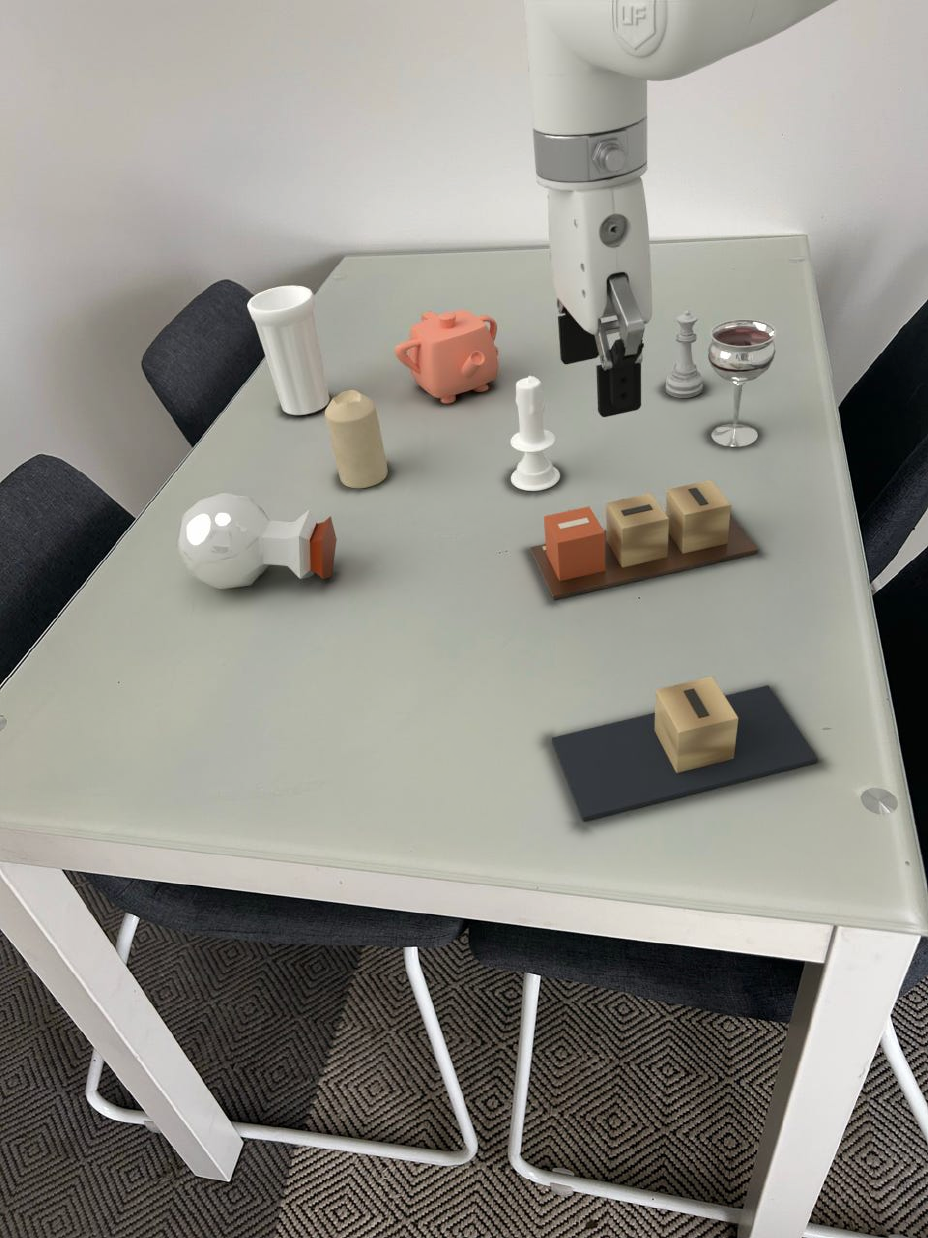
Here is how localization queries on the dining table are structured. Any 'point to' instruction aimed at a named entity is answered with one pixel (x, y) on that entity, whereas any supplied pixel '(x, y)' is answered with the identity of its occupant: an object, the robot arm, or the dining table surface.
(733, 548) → the far board
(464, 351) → the teapot
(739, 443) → the wineglass
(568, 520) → the orange striped cube
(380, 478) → the candle
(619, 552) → the far letter i
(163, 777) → the dining table surface
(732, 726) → the tan block
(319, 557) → the potion bottle
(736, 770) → the near mat
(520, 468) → the candle
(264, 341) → the cup
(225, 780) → the dining table surface
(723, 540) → the tan wooden block
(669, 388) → the chess piece
